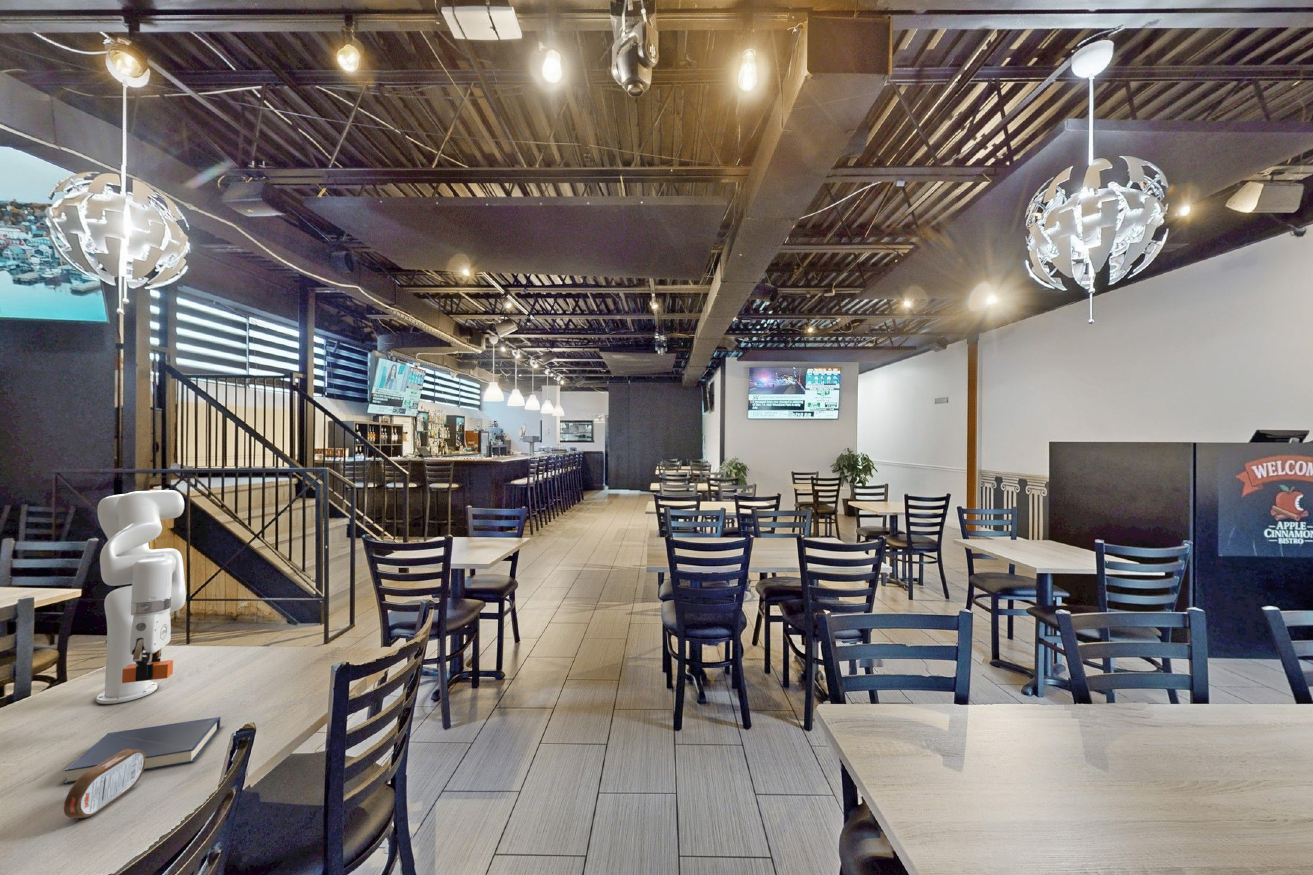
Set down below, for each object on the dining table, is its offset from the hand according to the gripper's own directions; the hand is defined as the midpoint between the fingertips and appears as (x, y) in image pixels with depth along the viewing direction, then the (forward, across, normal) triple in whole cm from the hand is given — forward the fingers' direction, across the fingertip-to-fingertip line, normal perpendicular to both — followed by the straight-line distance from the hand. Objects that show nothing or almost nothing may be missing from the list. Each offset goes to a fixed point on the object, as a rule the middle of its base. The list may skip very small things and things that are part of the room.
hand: (147, 676), depth 136 cm
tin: (+13, -34, -8) cm, 38 cm away
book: (+13, -16, -7) cm, 21 cm away
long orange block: (0, 0, 0) cm, 0 cm away
